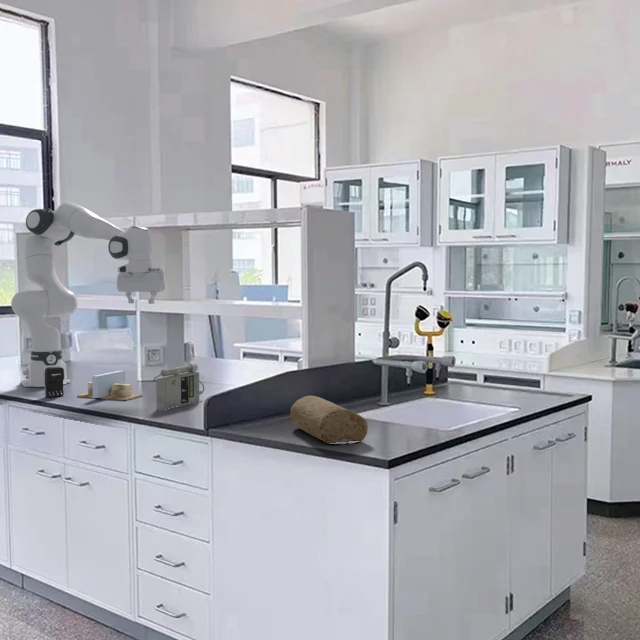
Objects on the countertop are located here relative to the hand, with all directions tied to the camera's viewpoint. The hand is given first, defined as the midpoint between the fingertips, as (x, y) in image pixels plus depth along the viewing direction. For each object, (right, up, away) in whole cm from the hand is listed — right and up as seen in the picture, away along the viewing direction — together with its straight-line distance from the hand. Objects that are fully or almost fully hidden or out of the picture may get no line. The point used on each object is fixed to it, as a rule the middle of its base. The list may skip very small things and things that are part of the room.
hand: (141, 303), depth 291 cm
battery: (-30, -35, -11) cm, 47 cm away
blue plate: (-9, -34, -12) cm, 37 cm away
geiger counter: (+21, -36, -28) cm, 51 cm away
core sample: (+71, -40, -78) cm, 113 cm away
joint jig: (-9, -35, -12) cm, 38 cm away
